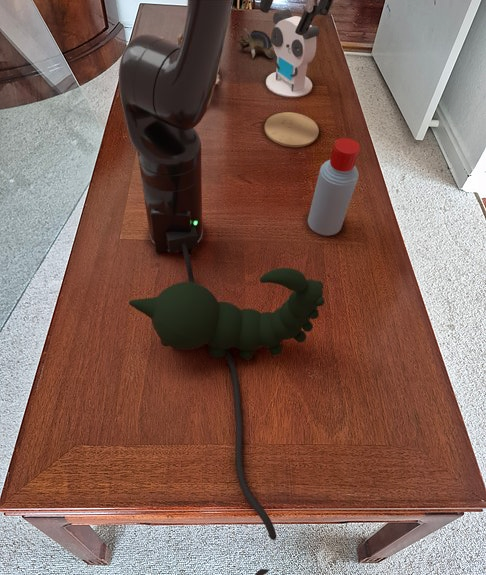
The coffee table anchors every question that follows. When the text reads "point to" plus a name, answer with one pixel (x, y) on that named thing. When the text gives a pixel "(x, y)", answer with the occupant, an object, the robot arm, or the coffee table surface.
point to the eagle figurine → (257, 42)
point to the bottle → (331, 199)
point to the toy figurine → (232, 316)
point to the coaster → (291, 129)
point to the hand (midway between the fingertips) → (281, 23)
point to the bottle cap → (344, 154)
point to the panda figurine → (291, 56)
